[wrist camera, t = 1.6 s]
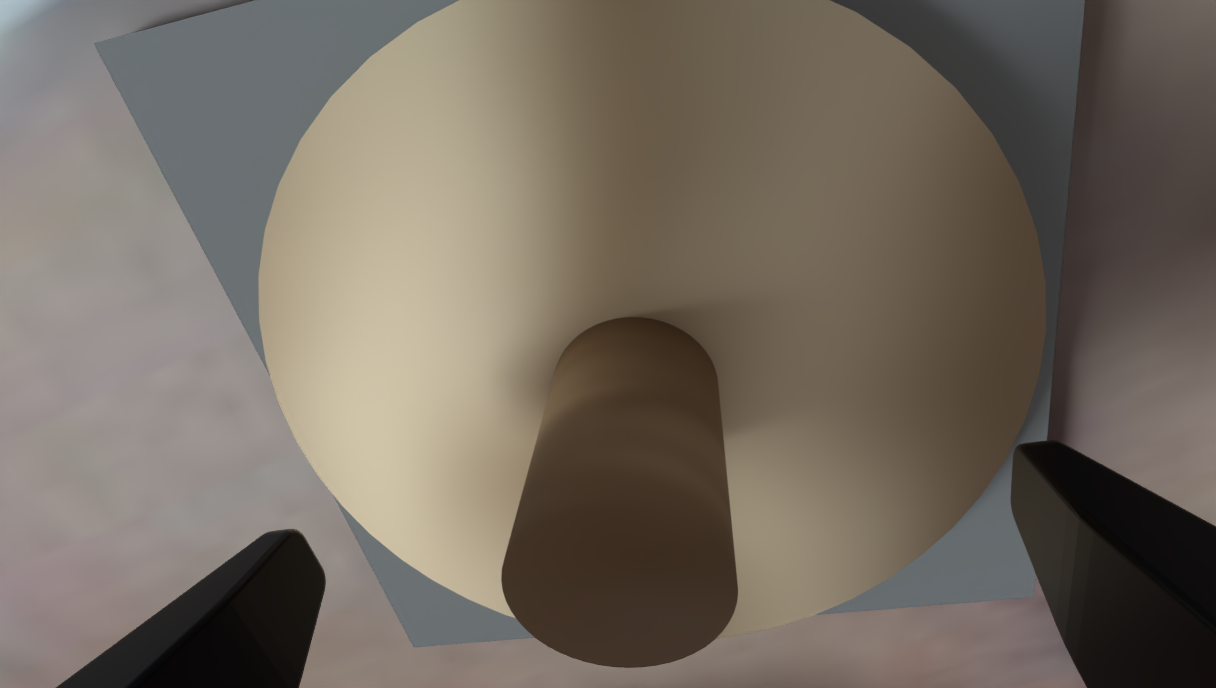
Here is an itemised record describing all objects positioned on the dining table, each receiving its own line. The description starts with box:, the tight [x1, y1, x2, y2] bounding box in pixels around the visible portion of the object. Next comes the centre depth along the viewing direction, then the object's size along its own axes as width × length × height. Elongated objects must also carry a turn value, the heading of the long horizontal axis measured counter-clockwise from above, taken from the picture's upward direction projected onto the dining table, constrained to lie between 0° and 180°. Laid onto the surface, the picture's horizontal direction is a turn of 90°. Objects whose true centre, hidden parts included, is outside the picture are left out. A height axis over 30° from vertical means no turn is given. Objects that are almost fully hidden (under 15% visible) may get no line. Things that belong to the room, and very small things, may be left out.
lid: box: [258, 0, 1046, 668], centre depth 10 cm, size 12×12×5 cm
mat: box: [94, 0, 1085, 647], centre depth 12 cm, size 13×13×1 cm
